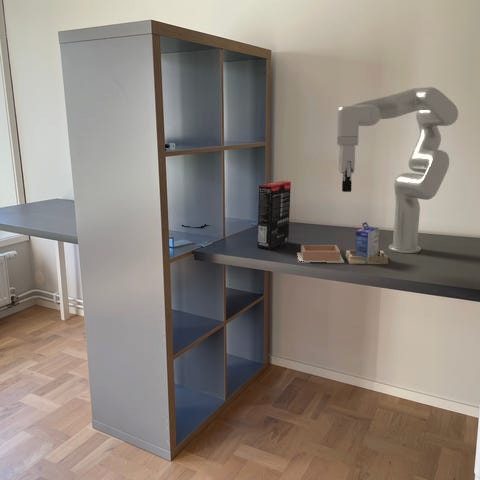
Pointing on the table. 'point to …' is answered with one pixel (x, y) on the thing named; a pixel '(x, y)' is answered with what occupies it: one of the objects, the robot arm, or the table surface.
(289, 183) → the graphics card box
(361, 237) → the ink cartridge box
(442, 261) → the table surface
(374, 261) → the beige rectangular frame
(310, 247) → the tray
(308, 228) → the table surface
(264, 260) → the table surface
